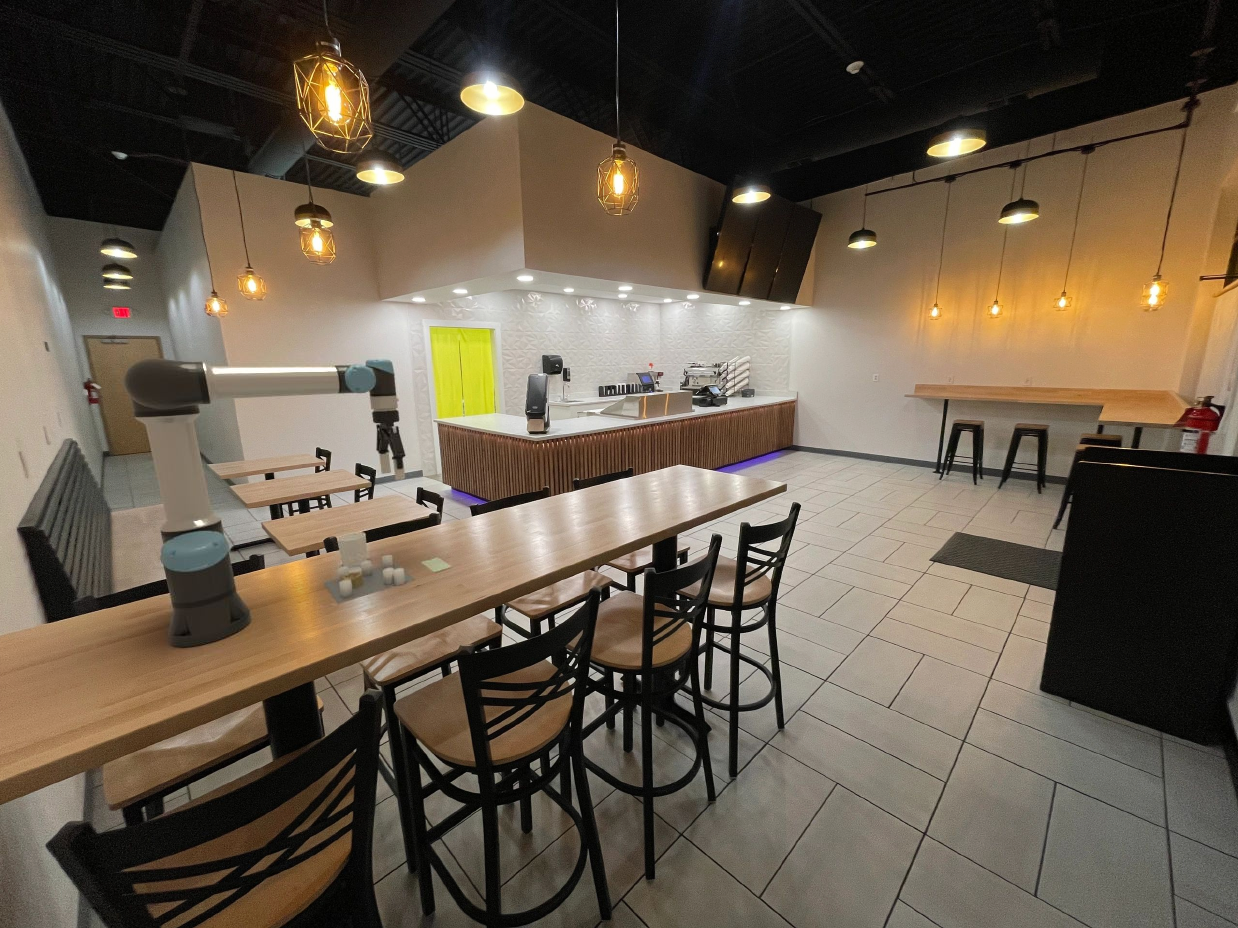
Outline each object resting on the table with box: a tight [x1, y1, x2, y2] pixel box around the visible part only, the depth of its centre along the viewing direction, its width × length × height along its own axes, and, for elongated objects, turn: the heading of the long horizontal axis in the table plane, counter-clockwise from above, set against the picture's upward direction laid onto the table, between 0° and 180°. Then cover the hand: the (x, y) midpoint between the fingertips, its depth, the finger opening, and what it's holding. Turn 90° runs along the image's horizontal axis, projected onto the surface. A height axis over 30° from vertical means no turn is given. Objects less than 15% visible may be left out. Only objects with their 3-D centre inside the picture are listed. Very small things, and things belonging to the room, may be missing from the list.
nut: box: [343, 571, 363, 589], centre depth 133 cm, size 4×5×3 cm
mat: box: [420, 557, 453, 574], centre depth 147 cm, size 12×11×1 cm
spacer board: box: [322, 554, 416, 604], centre depth 136 cm, size 20×18×5 cm
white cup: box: [336, 531, 368, 568], centre depth 150 cm, size 8×8×10 cm
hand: (393, 476), depth 151 cm, fingers open, 13 cm apart
